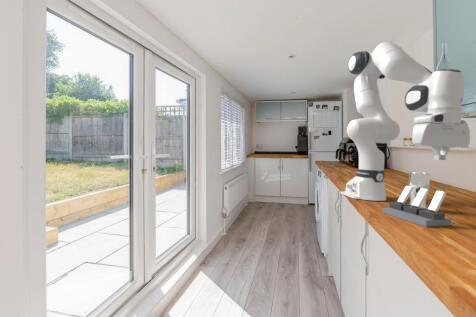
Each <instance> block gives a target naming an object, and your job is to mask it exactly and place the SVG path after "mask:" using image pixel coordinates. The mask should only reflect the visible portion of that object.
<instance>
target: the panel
mask: <svg viewBox="0 0 476 317" xmlns="http://www.w3.org/2000/svg"><path fill="white" fill-rule="evenodd" d="M382 209H383V210H382V211H383V212H382V213H383V214H385V215H389V216H392V217H395V218H398V219H400V220H404V221H408V222H409V223H410V222H411V223H413V224H416V225H419V226H422V227H425V228H429V227H430V228H431V227H448V226H452V218H448V217H445V216H446V213H444V212H441V211H437V212H434V211H430V210H428V208H426V209H425V208H421V207H420V208H418V207H414V206H411V205H410V204H409V203H406V202H405V204H403V203H399V202H398V201H390V202H389V207H387V206H386V207H383V208H382Z"/></svg>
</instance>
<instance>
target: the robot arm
mask: <svg viewBox="0 0 476 317" xmlns="http://www.w3.org/2000/svg"><path fill="white" fill-rule="evenodd" d="M347 69H348V71H349V73H350V74H351V75H355V76H357V77H355V79H354V82H353V95H354V100H355V107H356V111H357V113H358V114H359V115H361V116H362V118H360V117H359V118H355V119H352V120H350V121H349V123H348V124H347V127H346V135H347V136H348V138H349V139H350V140H352V141H353V143H354V145H355V146H356V150H357V152H358V169H355V170H354V172H355V176H354V177H352V178H351V179H350V180H349V181H347V182H346V184H345V190H342V191H340V194H341V195H344V196H347V197H349V198H351V199H353V200H356V199H357V200H364V201H376V202H377V201H379V202H381V201H382V202H385V201H387V195H386V184H385V180H384V179H385V178H386V176H385V175H386V173H385V172H386V171H385V153H384V152H383V151H382V150H380V149H379V148H378V145H377V143H376V142H381V143H386V142H391V141H395V140H396V139H398V137H399V136H400V133H401V128H400V125H399V123H398V122H396V121H395V120H393V119H392V118H391V117H390V115H388V113H387V112H386V110H385V108H384V106H383V105H382V99H381V97H380V92H379V87H378V79H380V80H383V79H385V78H387V79H389V80H392V81H398V82H404V83H405V82H406V83H409V84H410V83H411V84H414V85H413V86H412V87H410V88H409V89H408V91H407V92H406V94H405V96H404V104H405V107H406V109H407V110H409V111H411V112H419V113H424V114H422V115H418V116H416V117H415V116H414V118H413V123H414V126H413V128H412V134H411V140H412V141H411V143H412V144H413V146H417V147H418V146H421V147H423V146H424V147H425V146H426V147H431V151H432V154H433V160H434V161H445V160H446V159H447V155H448V153H449V152H450V150H451V147H453V148H455V147H456V148H468V147H469V145H470V143H471V139H470V138H471V134H470V133H471V132H470V131H471V130H470V127H469V124H468V123H467V122H466V120H465V119H462V112H463V107H462V102H463V96H464V88H465V78H464V74H463V72H462V71H461V70H459V69H453V68H452V69H451V68H449V69H446V68H445V69H444V68H442V69H438V70H437V69H436V70H434V71H433V72H432V71H431V70H429V68H427V67H425V66H424V65H422V64H421V63H419V62H418V60H417V61H416V60H415V59H414V58H413V57H411V56H410V55H409V54H408V53H407V52H406V51H405V50H404V48H402V47H401V46H399V45H398V44H396V43H395V42H393V41H389V40H388V41H383V42H381V43H379V44H377V45H376V47H375V48H374V50H373V51H366V50H362V51H357V52H354V53H353V54H351V55H350V57H349V60H348V62H347Z"/></svg>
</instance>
